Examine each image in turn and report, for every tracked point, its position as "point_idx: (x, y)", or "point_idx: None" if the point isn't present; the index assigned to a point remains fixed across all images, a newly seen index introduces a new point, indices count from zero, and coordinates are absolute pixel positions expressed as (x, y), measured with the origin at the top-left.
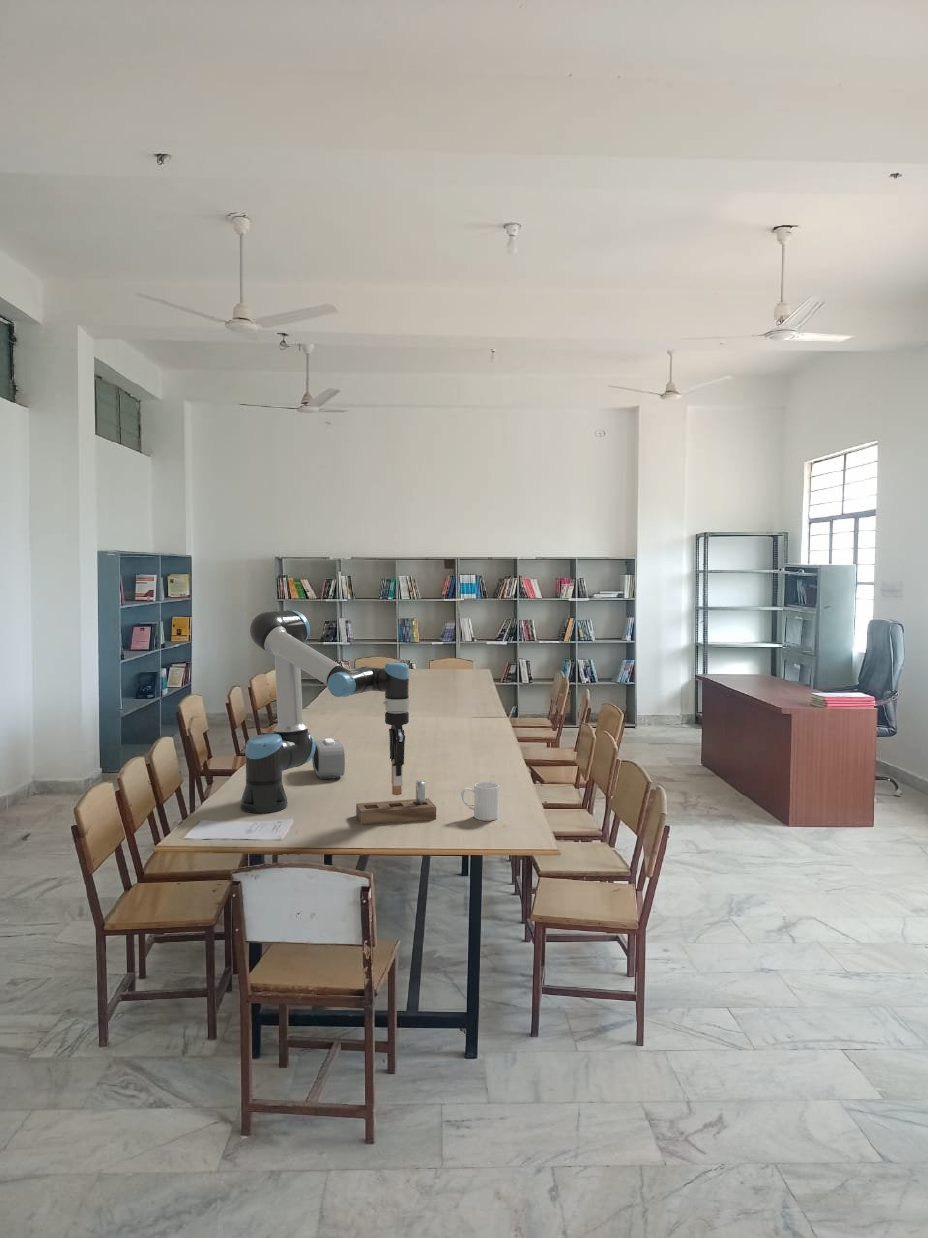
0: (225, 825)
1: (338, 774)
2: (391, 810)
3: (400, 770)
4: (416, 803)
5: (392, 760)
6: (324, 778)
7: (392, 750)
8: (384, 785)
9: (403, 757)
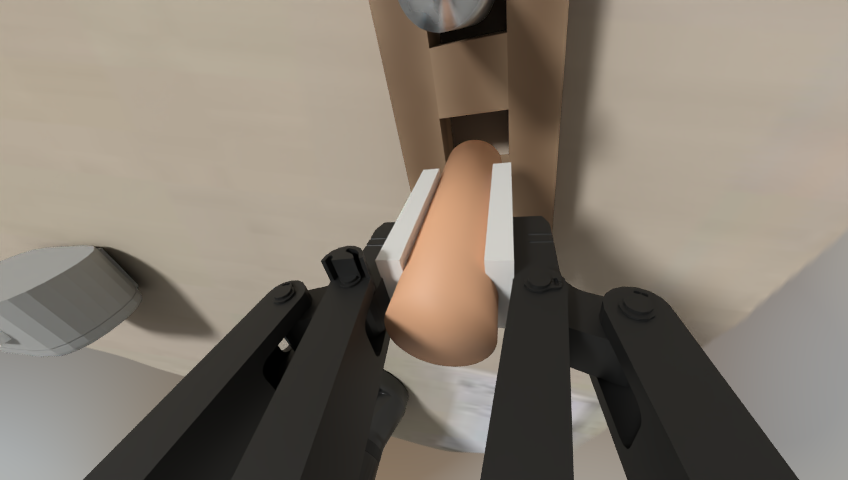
0: (472, 434)
1: (105, 261)
2: (555, 177)
3: (555, 253)
4: (474, 23)
5: (455, 366)
6: (131, 278)
7: (360, 465)
8: (93, 136)
9: (740, 416)
